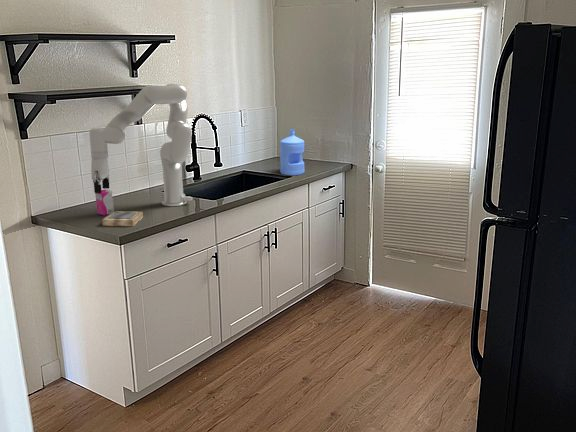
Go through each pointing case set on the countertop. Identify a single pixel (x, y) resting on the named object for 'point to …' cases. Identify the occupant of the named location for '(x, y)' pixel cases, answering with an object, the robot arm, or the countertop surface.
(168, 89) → the robot arm
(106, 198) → the supplement box
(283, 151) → the water jug
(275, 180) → the countertop surface
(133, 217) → the square wooden tray
